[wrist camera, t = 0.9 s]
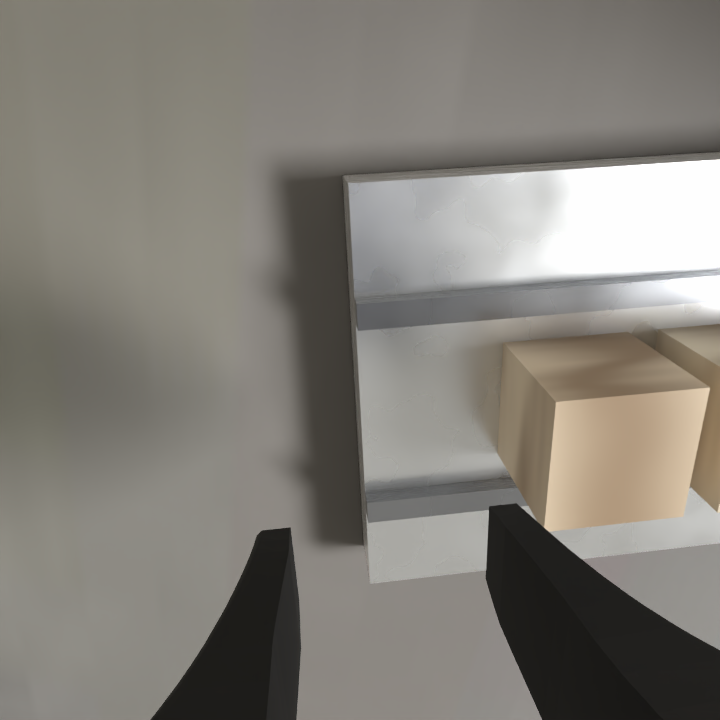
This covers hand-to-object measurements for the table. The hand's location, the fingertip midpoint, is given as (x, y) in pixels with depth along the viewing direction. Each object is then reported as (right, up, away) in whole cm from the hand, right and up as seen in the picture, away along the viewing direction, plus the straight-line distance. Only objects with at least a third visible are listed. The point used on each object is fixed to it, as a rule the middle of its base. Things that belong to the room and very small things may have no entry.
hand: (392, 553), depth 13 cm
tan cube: (+6, +3, +6) cm, 9 cm away
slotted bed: (+7, +4, +8) cm, 11 cm away
